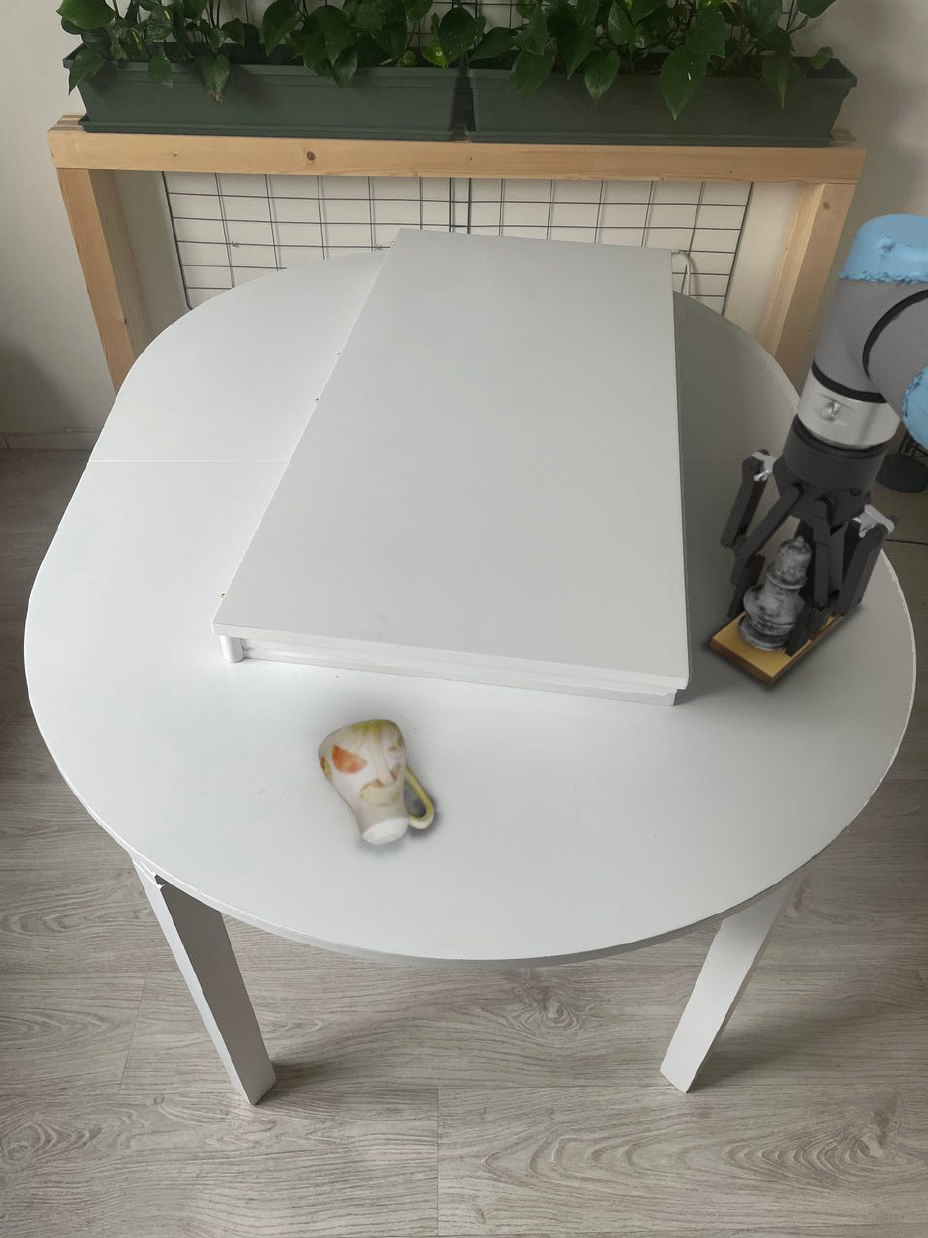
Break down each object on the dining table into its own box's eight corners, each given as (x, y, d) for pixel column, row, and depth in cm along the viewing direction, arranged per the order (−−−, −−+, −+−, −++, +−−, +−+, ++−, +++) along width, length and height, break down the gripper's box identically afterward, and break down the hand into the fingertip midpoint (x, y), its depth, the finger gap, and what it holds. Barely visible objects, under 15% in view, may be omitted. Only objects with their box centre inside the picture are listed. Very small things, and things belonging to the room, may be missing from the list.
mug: (353, 876, 73) (306, 772, 69) (349, 811, 82) (307, 716, 78) (443, 842, 73) (400, 736, 69) (428, 782, 82) (390, 685, 78)
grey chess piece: (785, 662, 86) (824, 567, 78) (725, 637, 88) (757, 541, 80) (804, 624, 90) (844, 529, 81) (746, 601, 92) (779, 506, 83)
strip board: (856, 607, 95) (860, 598, 94) (769, 686, 87) (772, 677, 86) (797, 572, 99) (801, 563, 98) (708, 646, 91) (711, 637, 90)
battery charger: (851, 601, 94) (891, 513, 86) (836, 622, 92) (875, 533, 84) (788, 571, 97) (821, 483, 89) (771, 590, 95) (804, 501, 87)
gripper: (716, 392, 75) (664, 596, 92) (933, 500, 66) (832, 706, 82) (768, 361, 79) (709, 563, 96) (980, 459, 70) (874, 664, 86)
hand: (766, 629), depth 89 cm, fingers closed on grey chess piece, 6 cm apart
